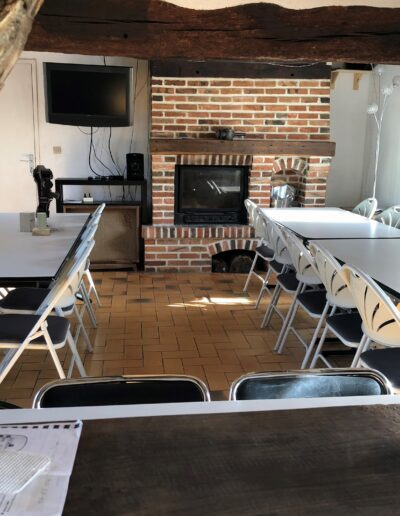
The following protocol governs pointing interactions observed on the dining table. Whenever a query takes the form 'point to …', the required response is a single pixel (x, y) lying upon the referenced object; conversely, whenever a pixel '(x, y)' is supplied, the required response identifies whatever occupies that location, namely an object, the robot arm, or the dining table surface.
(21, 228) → the supplement box
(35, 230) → the birch plinth
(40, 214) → the sage block
